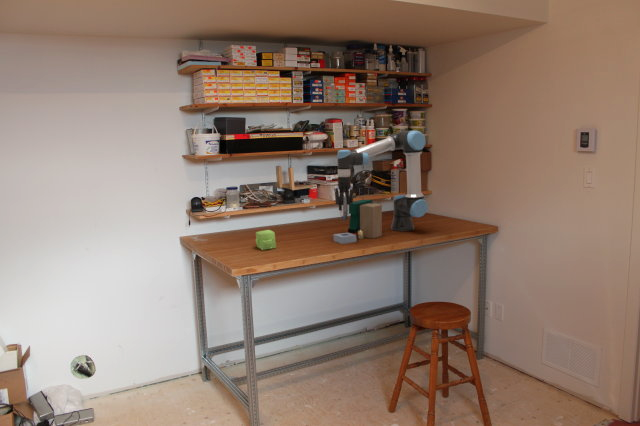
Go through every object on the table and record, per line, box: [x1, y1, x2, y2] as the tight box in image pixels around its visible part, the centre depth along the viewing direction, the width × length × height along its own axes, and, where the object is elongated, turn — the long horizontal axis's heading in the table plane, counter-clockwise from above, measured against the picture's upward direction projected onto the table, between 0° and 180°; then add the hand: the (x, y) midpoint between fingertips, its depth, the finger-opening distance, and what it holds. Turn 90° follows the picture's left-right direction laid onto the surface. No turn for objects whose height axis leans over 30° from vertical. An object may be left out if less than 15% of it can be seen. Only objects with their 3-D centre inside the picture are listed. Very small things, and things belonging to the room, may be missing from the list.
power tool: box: [347, 198, 376, 236], centre depth 341 cm, size 32×7×20 cm, turn 146°
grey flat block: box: [332, 232, 357, 245], centre depth 312 cm, size 10×10×4 cm
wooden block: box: [360, 203, 383, 239], centre depth 323 cm, size 10×10×20 cm
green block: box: [255, 229, 277, 251], centre depth 300 cm, size 18×10×10 cm, turn 23°
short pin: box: [357, 230, 364, 240], centre depth 318 cm, size 3×3×5 cm
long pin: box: [341, 195, 348, 221], centre depth 309 cm, size 3×3×14 cm
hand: (344, 215), depth 309 cm, fingers closed on long pin, 3 cm apart
